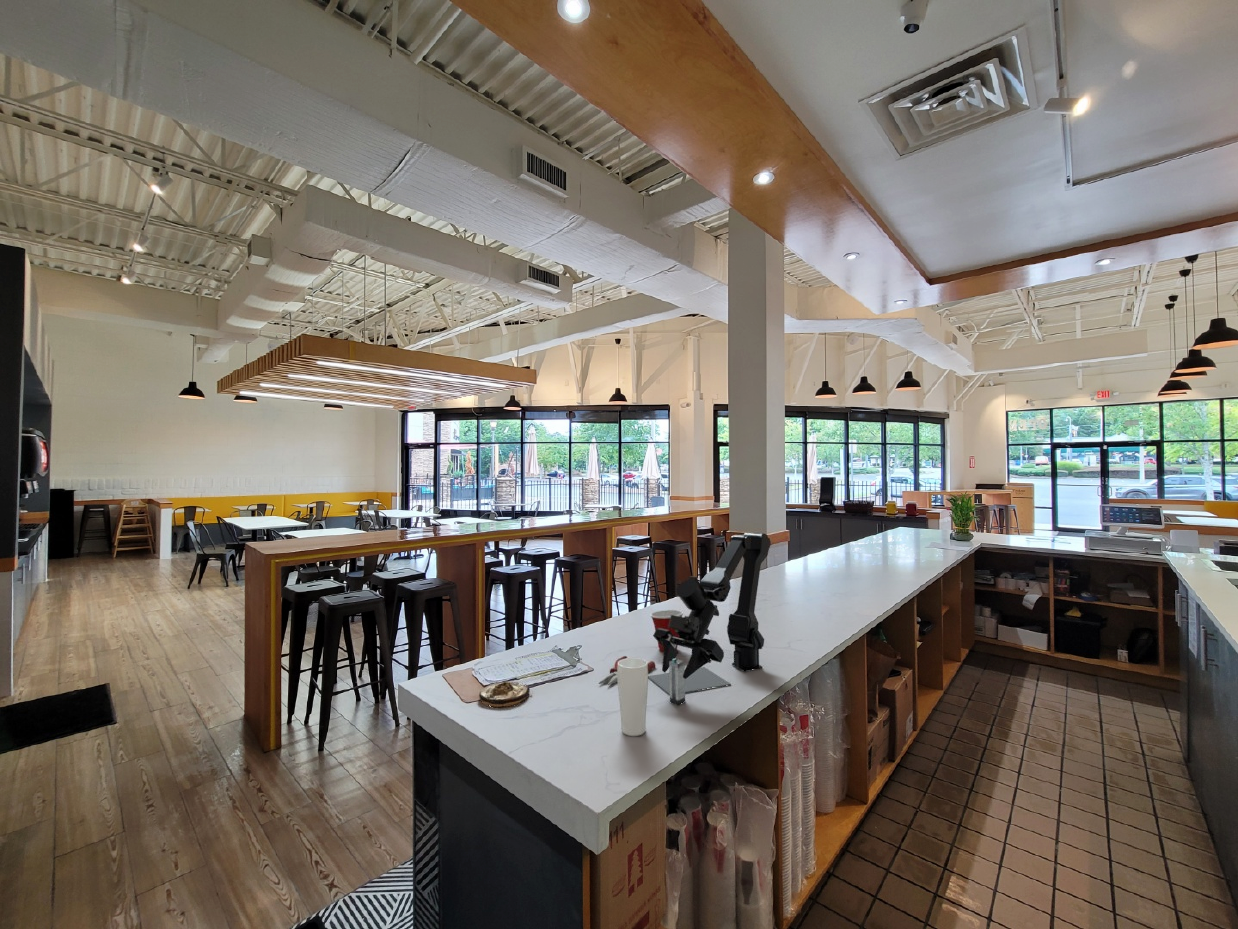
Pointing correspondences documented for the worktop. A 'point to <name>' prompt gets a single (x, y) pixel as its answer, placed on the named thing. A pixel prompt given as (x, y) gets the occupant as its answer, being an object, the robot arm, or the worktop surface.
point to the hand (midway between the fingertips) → (673, 674)
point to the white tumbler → (633, 694)
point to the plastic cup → (665, 621)
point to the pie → (504, 694)
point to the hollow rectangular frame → (677, 681)
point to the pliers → (613, 672)
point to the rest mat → (691, 681)
